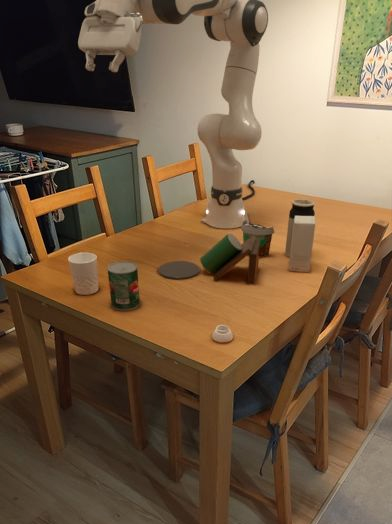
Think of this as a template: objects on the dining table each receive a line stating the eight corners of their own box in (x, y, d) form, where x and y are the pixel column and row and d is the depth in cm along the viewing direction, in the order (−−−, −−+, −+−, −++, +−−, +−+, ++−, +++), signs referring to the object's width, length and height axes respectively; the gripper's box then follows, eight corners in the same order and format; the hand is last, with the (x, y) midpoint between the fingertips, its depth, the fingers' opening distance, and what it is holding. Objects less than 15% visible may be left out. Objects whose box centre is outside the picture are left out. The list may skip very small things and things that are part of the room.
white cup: (90, 281, 140) (86, 250, 135) (106, 290, 135) (102, 257, 130) (68, 289, 136) (62, 257, 130) (82, 298, 131) (77, 265, 125)
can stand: (219, 265, 151) (220, 232, 145) (258, 268, 148) (260, 235, 142) (213, 280, 141) (213, 245, 135) (254, 284, 139) (256, 249, 133)
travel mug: (298, 261, 153) (305, 206, 143) (280, 254, 158) (285, 201, 148) (313, 255, 158) (321, 202, 148) (294, 249, 163) (301, 196, 153)
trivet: (164, 261, 153) (164, 259, 153) (203, 264, 151) (203, 262, 151) (153, 277, 143) (153, 275, 143) (194, 281, 141) (194, 279, 140)
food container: (232, 251, 160) (233, 223, 155) (243, 247, 164) (245, 219, 159) (261, 261, 153) (263, 231, 148) (272, 256, 157) (274, 227, 152)
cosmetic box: (309, 273, 146) (316, 224, 137) (287, 271, 147) (293, 222, 138) (309, 262, 152) (316, 215, 144) (289, 261, 154) (294, 214, 145)
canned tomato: (108, 300, 130) (103, 263, 124) (135, 295, 132) (132, 259, 126) (115, 313, 124) (111, 275, 118) (143, 307, 126) (141, 270, 120)
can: (202, 267, 149) (202, 228, 142) (241, 270, 147) (243, 231, 140) (198, 275, 144) (198, 235, 137) (238, 278, 142) (241, 238, 135)
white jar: (207, 338, 113) (223, 346, 110) (208, 328, 112) (224, 335, 109) (220, 330, 116) (236, 337, 113) (221, 320, 115) (237, 327, 112)
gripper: (152, 20, 115) (136, 78, 117) (99, 22, 126) (85, 75, 129) (135, 3, 110) (118, 64, 112) (81, 7, 121) (67, 63, 124)
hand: (100, 70), depth 121 cm, fingers open, 8 cm apart
